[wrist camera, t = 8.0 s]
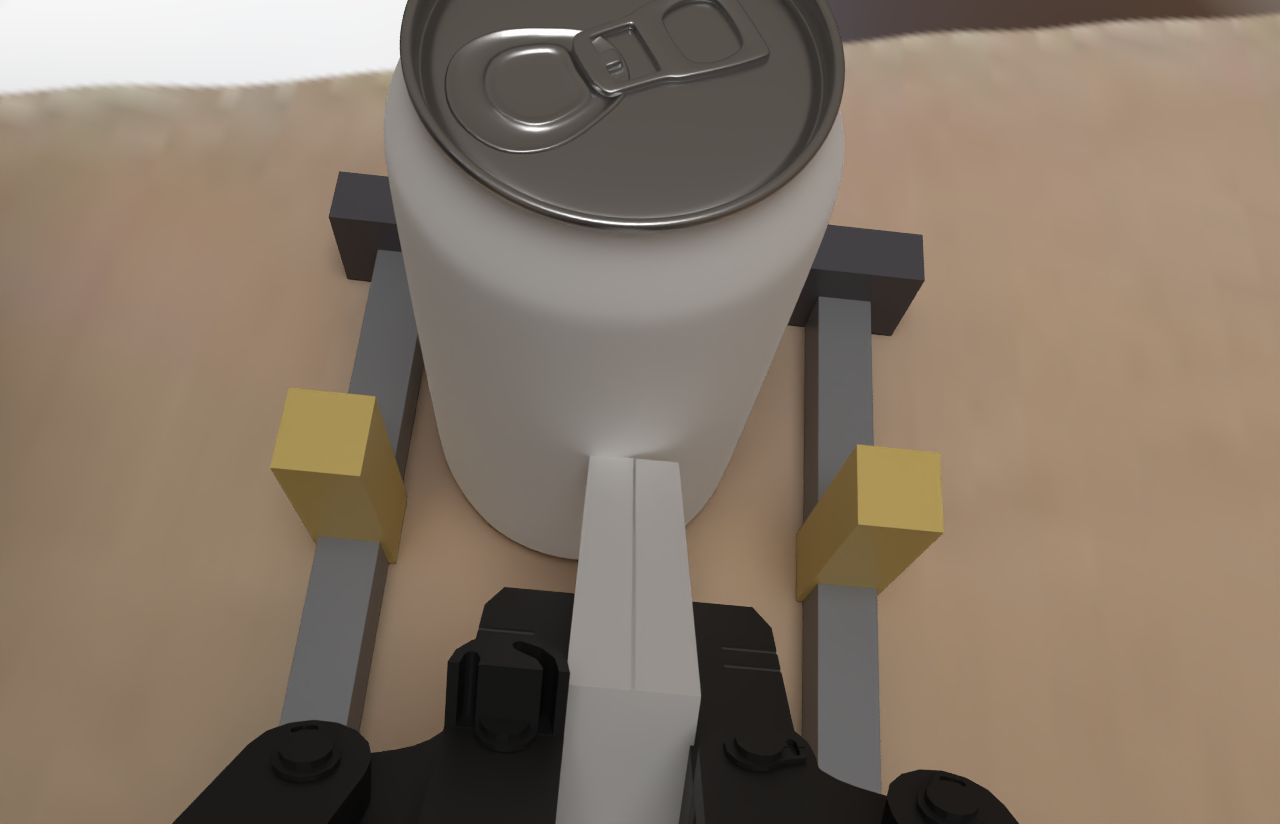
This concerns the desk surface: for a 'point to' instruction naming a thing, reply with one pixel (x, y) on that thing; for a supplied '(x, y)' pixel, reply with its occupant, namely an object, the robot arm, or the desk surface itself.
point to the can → (606, 231)
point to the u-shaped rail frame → (833, 479)
